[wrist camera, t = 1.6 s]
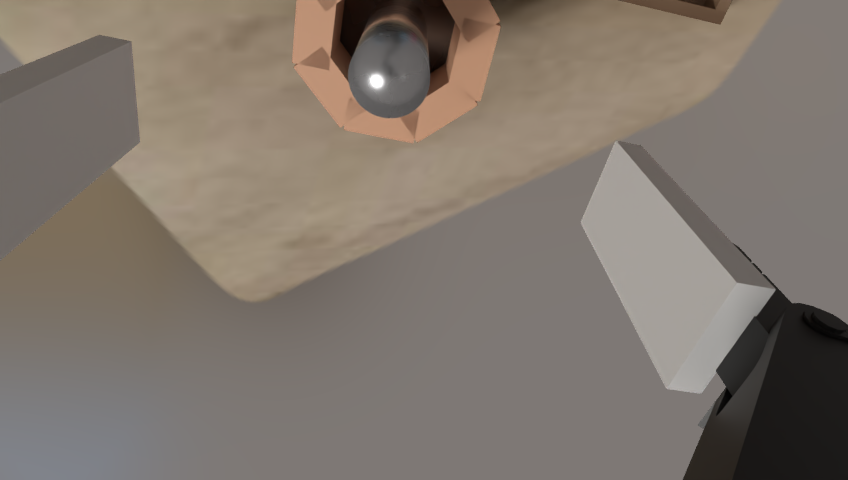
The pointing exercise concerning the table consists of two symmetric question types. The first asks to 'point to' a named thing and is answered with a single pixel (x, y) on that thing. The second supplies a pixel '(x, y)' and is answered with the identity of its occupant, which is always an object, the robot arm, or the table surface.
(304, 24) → the ring
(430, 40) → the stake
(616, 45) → the table surface
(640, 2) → the tray
